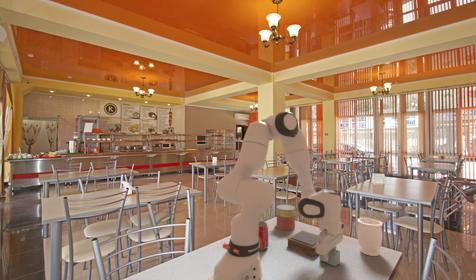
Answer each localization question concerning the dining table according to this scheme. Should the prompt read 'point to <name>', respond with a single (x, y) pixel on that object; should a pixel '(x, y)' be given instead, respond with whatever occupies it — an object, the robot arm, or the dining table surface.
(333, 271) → the dining table surface
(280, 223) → the canned food
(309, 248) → the walnut picture frame
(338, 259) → the pale green block
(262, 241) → the beverage can
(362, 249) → the jar
